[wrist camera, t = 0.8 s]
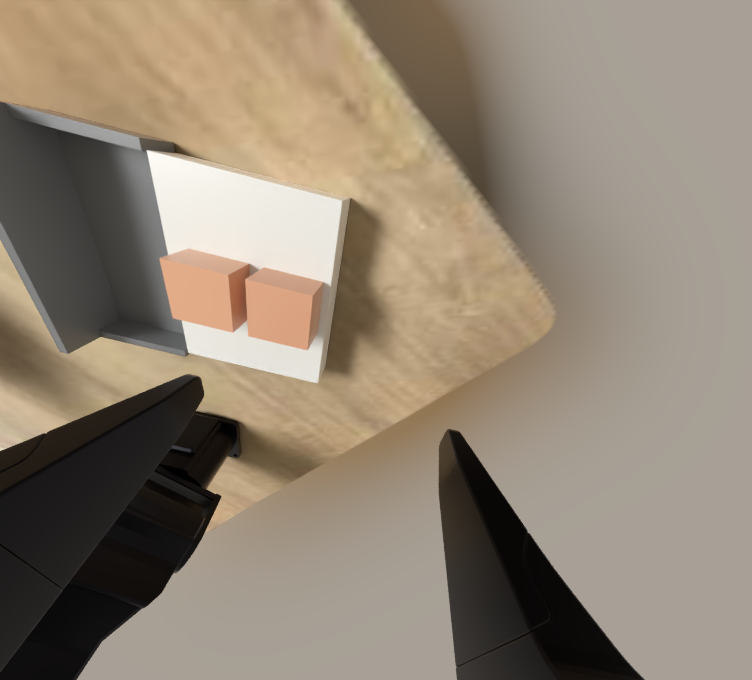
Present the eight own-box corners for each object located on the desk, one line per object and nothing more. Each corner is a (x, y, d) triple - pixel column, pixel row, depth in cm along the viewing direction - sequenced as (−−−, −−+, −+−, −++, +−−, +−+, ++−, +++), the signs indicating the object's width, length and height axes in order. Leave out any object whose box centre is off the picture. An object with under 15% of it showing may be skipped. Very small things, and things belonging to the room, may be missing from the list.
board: (325, 365, 24) (317, 383, 22) (207, 337, 24) (188, 352, 22) (350, 197, 17) (342, 200, 15) (179, 153, 17) (146, 150, 14)
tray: (204, 340, 24) (162, 375, 20) (121, 321, 24) (60, 351, 20) (173, 142, 16) (91, 130, 12) (47, 109, 16) (-81, 85, 12)
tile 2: (251, 316, 19) (232, 332, 17) (197, 303, 19) (172, 318, 17) (249, 263, 17) (228, 274, 15) (188, 248, 17) (159, 257, 15)
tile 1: (317, 332, 20) (307, 350, 18) (264, 319, 19) (248, 336, 17) (323, 281, 17) (312, 295, 15) (264, 267, 17) (245, 279, 15)
